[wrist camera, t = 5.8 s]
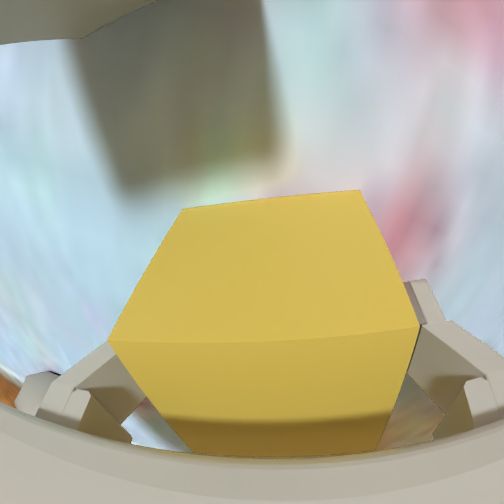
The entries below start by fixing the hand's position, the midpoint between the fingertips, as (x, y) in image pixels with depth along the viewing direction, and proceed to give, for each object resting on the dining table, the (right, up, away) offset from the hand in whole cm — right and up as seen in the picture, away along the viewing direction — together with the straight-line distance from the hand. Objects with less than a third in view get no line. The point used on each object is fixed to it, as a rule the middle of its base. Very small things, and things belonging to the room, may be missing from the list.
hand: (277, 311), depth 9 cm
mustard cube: (0, +1, +1) cm, 2 cm away
